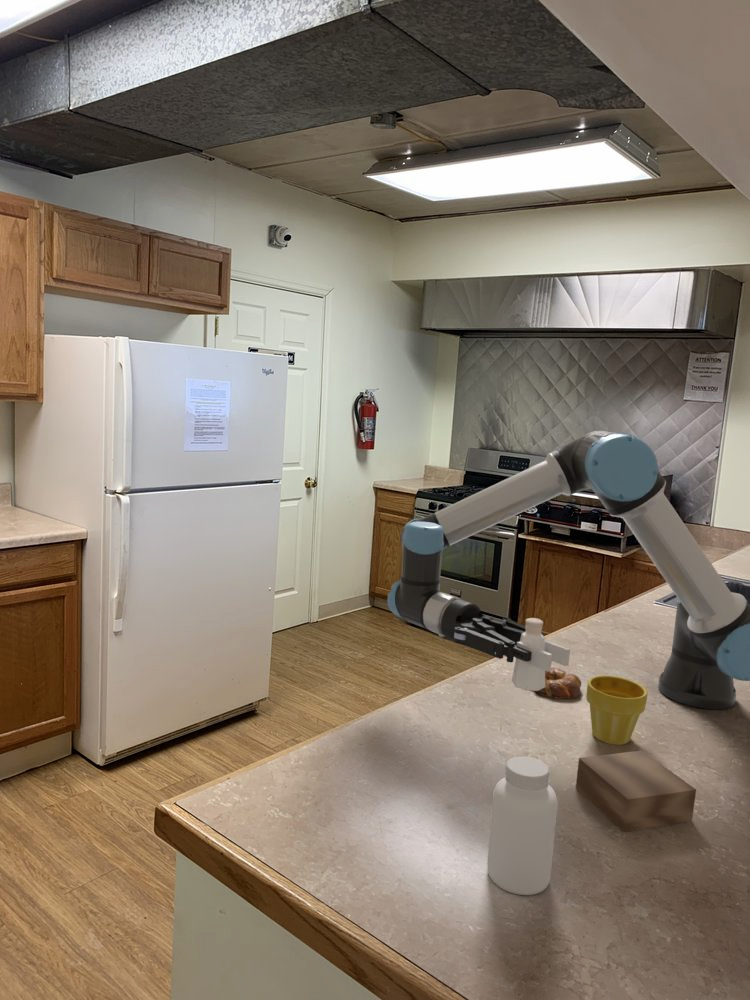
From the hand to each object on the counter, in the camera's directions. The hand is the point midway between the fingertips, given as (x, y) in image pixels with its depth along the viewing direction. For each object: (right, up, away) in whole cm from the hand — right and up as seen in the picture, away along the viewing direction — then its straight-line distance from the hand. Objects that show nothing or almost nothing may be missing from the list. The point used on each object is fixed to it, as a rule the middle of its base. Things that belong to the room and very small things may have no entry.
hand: (558, 660), depth 115 cm
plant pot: (+14, -18, +19) cm, 30 cm away
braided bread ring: (+9, -15, +40) cm, 44 cm away
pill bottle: (-11, -23, -22) cm, 33 cm away
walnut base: (+10, -21, -3) cm, 24 cm away
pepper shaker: (-4, -5, +5) cm, 8 cm away
